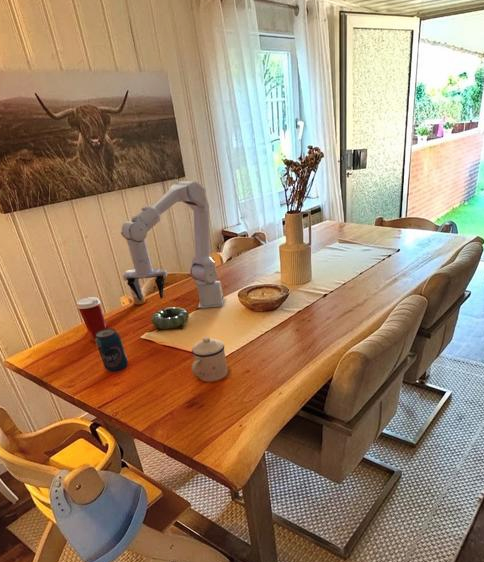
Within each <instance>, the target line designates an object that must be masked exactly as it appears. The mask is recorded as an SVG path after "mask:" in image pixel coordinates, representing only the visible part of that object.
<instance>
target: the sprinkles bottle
mask: <svg viewBox="0 0 484 562" xmlns="http://www.w3.org/2000/svg"><path fill="white" fill-rule="evenodd" d="M131 272H135V269H134V268H132V269H128V270H126V271H125V273H131ZM138 283H139V288H140V291H141V295H142V299H141V300H139V299H138V297H137V295H136V294H135V292H134V291H133V290H132V289H131V287H130V286H129V289H130V293H131V296H132V298H133V303H134V304H135V305H136V306H137V305H138V306H139V305H143V304H145V303H146V300H145V297H144V291H143V289H142V285H141V281H140V279H138Z"/></svg>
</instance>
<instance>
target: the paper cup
mask: <svg viewBox="0 0 484 562" xmlns="http://www.w3.org/2000/svg"><path fill="white" fill-rule="evenodd" d="M76 308H77V309H78V311H79V313H80V315H81V317H82V320H83V322H84V324H85V328H86V330H87V331H88V333H89V336H90V338H91V340H92V341H93V342H94V343H96V341H95V339H96V333H97V332H98V331H100V330H103V329H108V328H107V324H106V321H105V317H104V313H103V309H102V306H101V300H99V298H98V297H97V296H89V297H83V298H81V299H79V300H78V301H76Z"/></svg>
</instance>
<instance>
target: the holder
mask: <svg viewBox="0 0 484 562" xmlns="http://www.w3.org/2000/svg"><path fill="white" fill-rule="evenodd" d="M171 308H172V307H171V306H167V307H166V308H165V309H166V312H167V316H168V318H171V317H173V313H172V309H171ZM185 324H186V322H185V323H184V324H182V325H181V326H178V327H174V328H167V329H162V328H157V327H156V330H157V332H162V331H163V332H164V331H174V330H175V331H176V330H183V329H184V327H185Z"/></svg>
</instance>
